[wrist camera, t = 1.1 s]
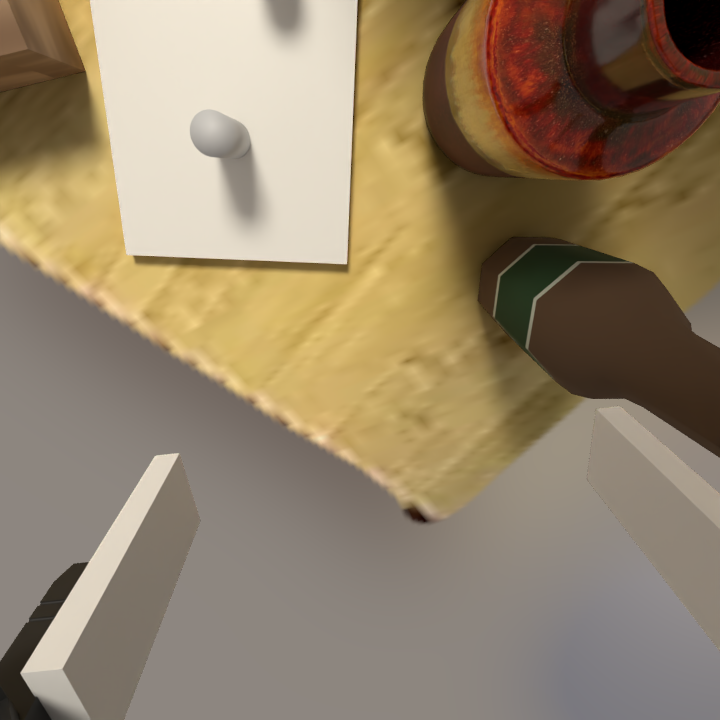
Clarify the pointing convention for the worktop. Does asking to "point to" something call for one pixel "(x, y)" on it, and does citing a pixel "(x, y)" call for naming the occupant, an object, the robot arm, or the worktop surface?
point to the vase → (571, 85)
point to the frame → (35, 43)
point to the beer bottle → (605, 331)
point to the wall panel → (236, 82)
